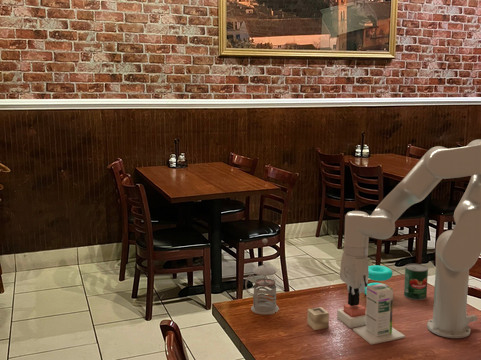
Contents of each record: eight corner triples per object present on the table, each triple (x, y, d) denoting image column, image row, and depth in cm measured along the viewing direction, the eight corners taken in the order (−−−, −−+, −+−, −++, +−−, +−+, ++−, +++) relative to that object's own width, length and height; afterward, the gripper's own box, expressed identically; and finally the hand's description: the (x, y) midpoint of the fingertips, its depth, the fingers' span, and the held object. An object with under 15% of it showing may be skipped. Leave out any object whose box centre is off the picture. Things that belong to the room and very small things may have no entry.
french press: (281, 314, 176) (281, 242, 172) (246, 315, 176) (246, 243, 171) (277, 302, 186) (277, 234, 182) (244, 303, 185) (244, 235, 181)
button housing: (357, 314, 176) (358, 305, 175) (371, 324, 168) (372, 315, 168) (337, 318, 173) (337, 309, 172) (350, 328, 165) (350, 319, 165)
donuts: (369, 262, 197) (396, 267, 192) (368, 287, 199) (394, 292, 194) (360, 270, 189) (388, 275, 184) (359, 296, 190) (386, 302, 185)
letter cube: (321, 321, 171) (321, 306, 170) (328, 327, 166) (328, 312, 165) (307, 323, 169) (307, 308, 168) (314, 330, 164) (314, 314, 164)
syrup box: (376, 337, 158) (378, 291, 155) (365, 329, 163) (366, 285, 161) (392, 333, 160) (394, 288, 157) (380, 326, 165) (381, 282, 163)
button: (356, 311, 173) (356, 302, 173) (365, 317, 169) (365, 308, 168) (343, 313, 172) (343, 304, 171) (351, 319, 167) (352, 310, 166)
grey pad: (385, 324, 168) (385, 322, 168) (404, 337, 159) (404, 335, 159) (352, 330, 164) (352, 328, 164) (371, 344, 155) (371, 342, 155)
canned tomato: (414, 290, 196) (415, 262, 194) (431, 297, 189) (433, 268, 187) (399, 294, 192) (400, 265, 190) (416, 301, 185) (417, 272, 183)
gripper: (333, 244, 172) (331, 297, 175) (358, 258, 158) (356, 315, 161) (353, 242, 175) (350, 294, 178) (379, 256, 161) (376, 312, 164)
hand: (353, 304), depth 170 cm, fingers closed
